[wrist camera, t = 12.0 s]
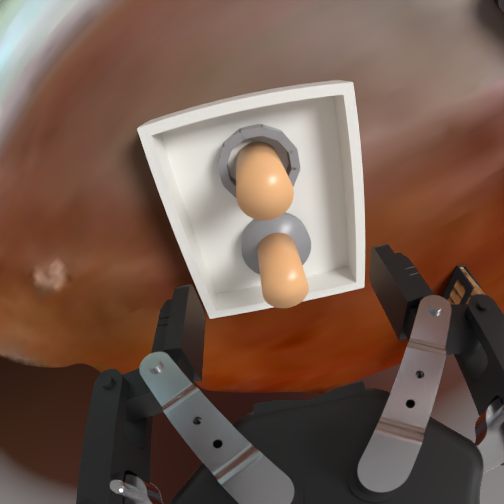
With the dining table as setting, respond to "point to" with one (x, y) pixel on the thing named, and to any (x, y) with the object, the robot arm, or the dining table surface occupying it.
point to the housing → (268, 231)
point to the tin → (501, 5)
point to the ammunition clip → (461, 286)
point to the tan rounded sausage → (262, 182)
